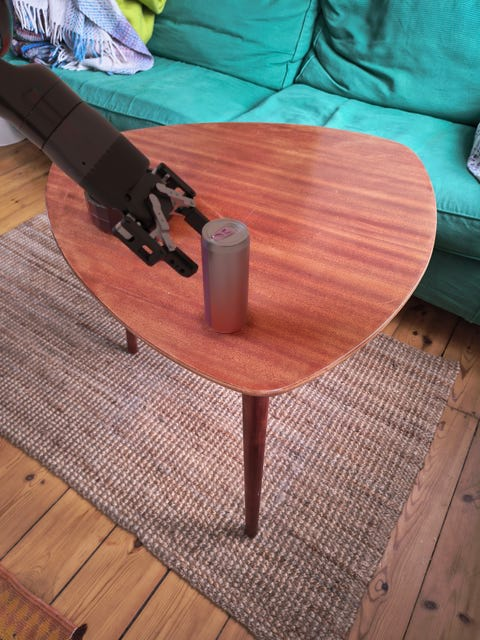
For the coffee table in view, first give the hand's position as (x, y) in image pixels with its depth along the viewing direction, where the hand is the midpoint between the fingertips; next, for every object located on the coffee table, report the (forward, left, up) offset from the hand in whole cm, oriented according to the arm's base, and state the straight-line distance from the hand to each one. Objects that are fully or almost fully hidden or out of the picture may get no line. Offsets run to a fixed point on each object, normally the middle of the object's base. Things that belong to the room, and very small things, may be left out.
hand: (202, 252), depth 59 cm
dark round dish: (-10, +29, -11) cm, 32 cm away
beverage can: (+3, -1, -11) cm, 12 cm away
